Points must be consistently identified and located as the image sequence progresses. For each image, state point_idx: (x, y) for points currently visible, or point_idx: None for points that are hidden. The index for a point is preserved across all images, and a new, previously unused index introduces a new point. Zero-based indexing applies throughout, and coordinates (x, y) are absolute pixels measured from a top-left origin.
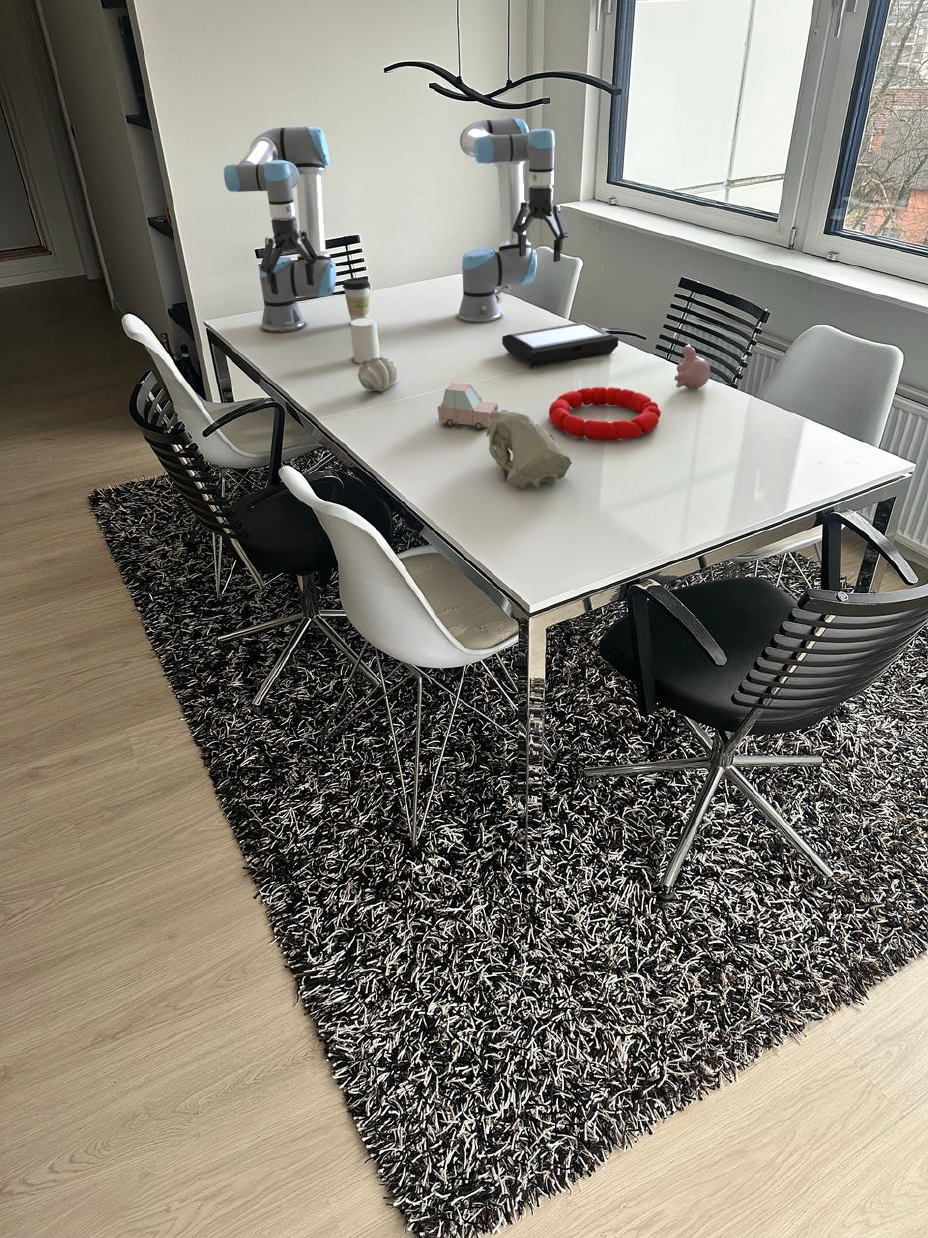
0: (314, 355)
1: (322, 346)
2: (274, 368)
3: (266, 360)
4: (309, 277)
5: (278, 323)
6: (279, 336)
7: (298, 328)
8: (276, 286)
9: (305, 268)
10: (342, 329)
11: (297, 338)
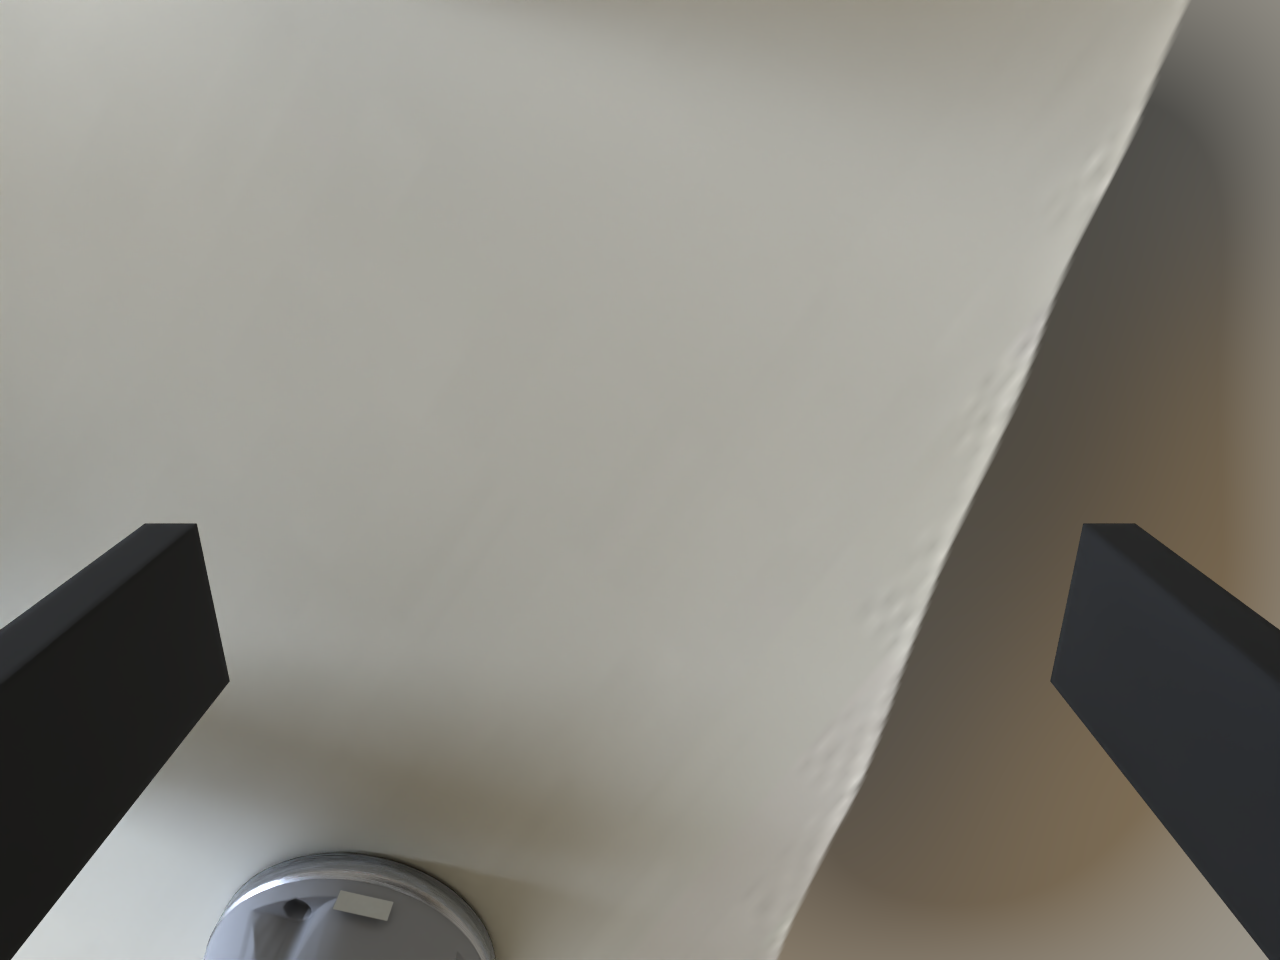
0: (537, 298)
1: (367, 439)
2: (961, 270)
3: (870, 481)
4: (118, 674)
5: (427, 937)
6: (489, 826)
7: (310, 856)
8: (1215, 603)
9: (12, 951)
10: None
11: (417, 716)
